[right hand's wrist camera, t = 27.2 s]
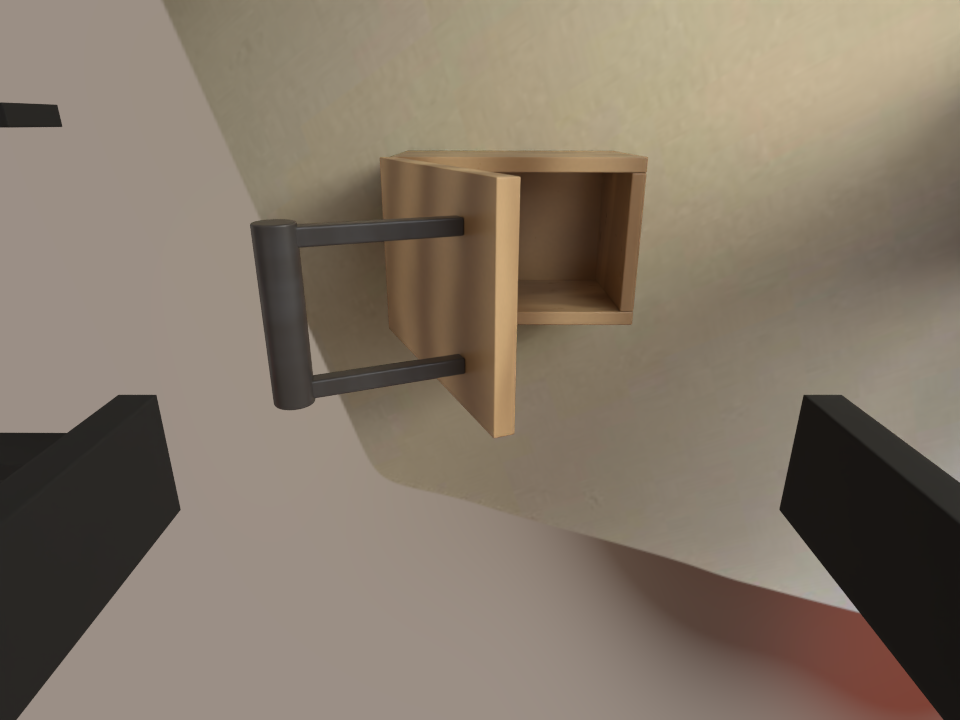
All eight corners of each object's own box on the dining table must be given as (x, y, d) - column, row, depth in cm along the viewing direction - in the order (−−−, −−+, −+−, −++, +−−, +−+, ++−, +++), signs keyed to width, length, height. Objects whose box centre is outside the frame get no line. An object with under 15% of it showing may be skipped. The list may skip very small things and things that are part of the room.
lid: (520, 176, 20) (250, 185, 17) (514, 434, 23) (289, 481, 20) (395, 157, 32) (228, 159, 29) (403, 326, 36) (254, 345, 33)
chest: (614, 151, 41) (648, 157, 33) (603, 288, 44) (632, 325, 36) (407, 150, 41) (389, 156, 33) (412, 288, 44) (397, 324, 36)
